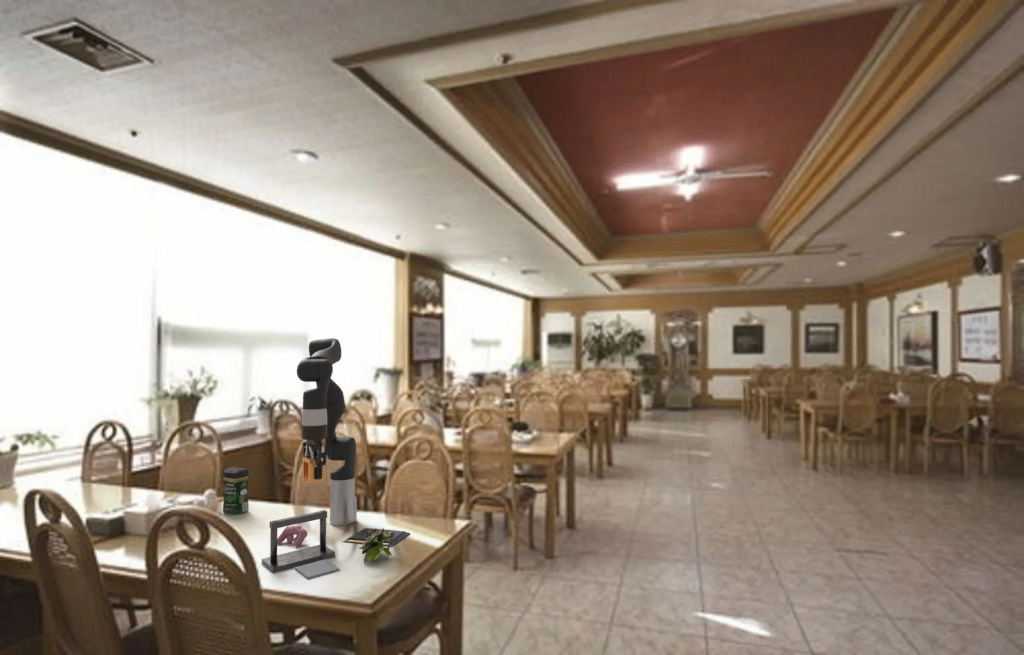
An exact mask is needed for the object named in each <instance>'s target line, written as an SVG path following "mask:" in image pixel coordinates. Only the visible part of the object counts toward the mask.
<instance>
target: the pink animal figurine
mask: <svg viewBox="0 0 1024 655" xmlns="http://www.w3.org/2000/svg"><path fill="white" fill-rule="evenodd" d="M294 535H295V537H294ZM307 537H308V530H306V529H305V528H303V527H302V526H298V525H290V526H285V528H284V529H283V531H282V532H281V533H280V535H279V536H277V545H281V544H282V543H283V542H284V541H286V542H287V543H290V544H291V543H294V547H295V548H299V547H300V546H302V544H304V541H305V539H306V538H307Z"/></svg>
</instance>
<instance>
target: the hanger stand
mask: <svg viewBox="0 0 1024 655" xmlns="http://www.w3.org/2000/svg"><path fill="white" fill-rule="evenodd" d="M327 518H328V511H327V510H325V509H323V510H319V511H314V512H309V513H305V514H304V513H303V514H299V515H295V516H290V517H289V516H288V517H284V518H281V519H280V518H279V519H275V520H269V529H270V536H269V537H270V540H269V542H270V543H269V544H270V546H269V547H270V553H269V554H270V555H269V556H267V557H264V558H261V565H263V566H264V567H265V568H266V569H268V571H270V572H271V573H274V574H275V573H278V572H282V571H285V570H289V569H293V568H295V567H299V566H303V565H307V564H310V563H314V562H318V561H322V560H325V559H326V560H328V559H331V558H334V557H336V551H334V550H333V549H332V548H330V547H328V546H327ZM317 520H319V544H317V545H312V546H310V547H305V548H300V549H297V550H293V551H288V552H285V553H280V554H278V544H277V539H278V529H279V528H284V527H285V528H286V527H287V526H288V527H289V526H296V525H300V524H303V523H309V522H312V521H317Z"/></svg>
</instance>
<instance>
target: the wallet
mask: <svg viewBox="0 0 1024 655" xmlns="http://www.w3.org/2000/svg"><path fill="white" fill-rule="evenodd" d="M371 529H374V528H373V527H372V528H371V527H365V528H363V529H361V530H360V531H359V530H358V531H357V532H356V533H354V534H352V535H350V536H349V537H347V538H346V539H345V540H343V541H342V543H344V544H345V543H347V544H355V545H362V542H363V541H366V538H368V537H369V536H368V537H367V536H366V532H367V531H371ZM382 529H383V528H377V530H376V531H375V532H374V533H376V532H377V531H379V530H382ZM385 530H386V535H389V534H388V533H389V532H390V531H393V533H394V536H393V538H392V537H391V538H392V541H391V538H388V539H385V540H386V541H385V542H383V547H386V548H387V547H388V546H389V543H390V541H391V544H390V548H393V547H394V546H396V545H397V544H399V543H401V542H402V541H403V540H405V539H406V538H408V537H409V536H410V535H411V533H410V532H407V531H404V530H394V529H385ZM374 533H372V534H374ZM370 536H371V535H370Z"/></svg>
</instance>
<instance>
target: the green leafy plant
mask: <svg viewBox="0 0 1024 655" xmlns="http://www.w3.org/2000/svg"><path fill="white" fill-rule="evenodd" d="M377 529H378V528H377V527H376V528H373V529H371V531H367V532H366V536H367V537H368V536H369V537H368V538H366V541H363V542H362V544H361V545H362V546H360V547H359V550H361V554H362V555H364V554H365V555H364V557H363V563H364V565H366V564H369V562H371V561H376V560H377V559H379V557H380V556H381V555H382V554H383V553H384V554H385V555H387V556H386V557H387V559H389V557H390V556H392V552H391V551H390V548H391V547H390V544H391V541H392V538H393V536H394V533H393V531H390V532H389V533H388V534H389V535H386V530H387V529H385V528H381V529H382V530H379V531H377V532H376V533H374V532H375V531H376V530H377ZM372 533H374V534H372ZM370 535H371V536H370ZM391 537H392V538H391ZM388 538H391V541H390V543H389V546H388V547H385V546H383V542H385V541H386V540H385V539H388Z"/></svg>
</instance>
